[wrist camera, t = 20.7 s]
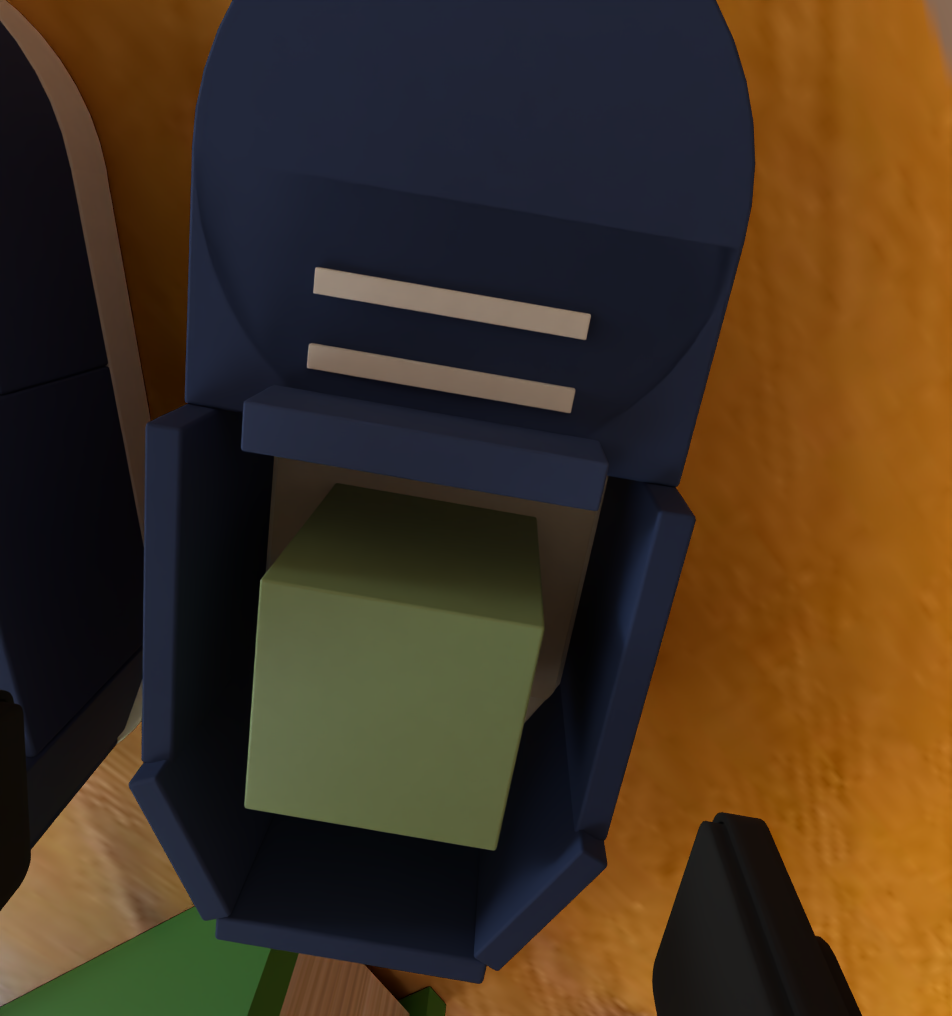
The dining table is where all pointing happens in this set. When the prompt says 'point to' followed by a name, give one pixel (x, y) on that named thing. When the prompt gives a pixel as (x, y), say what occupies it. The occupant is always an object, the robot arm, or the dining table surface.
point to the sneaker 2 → (436, 411)
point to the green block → (396, 666)
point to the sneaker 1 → (65, 434)
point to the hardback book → (215, 981)
